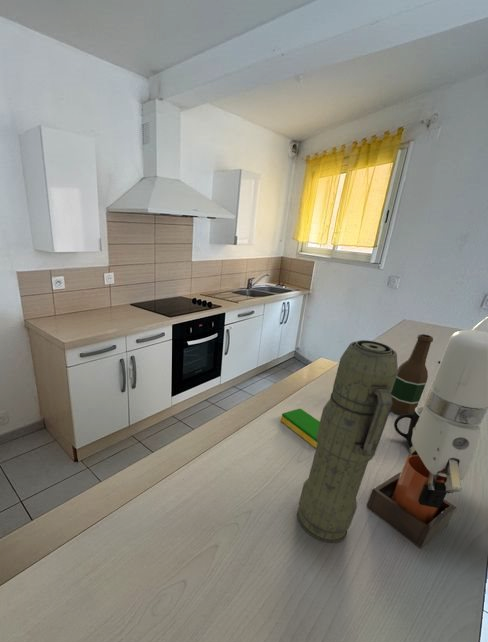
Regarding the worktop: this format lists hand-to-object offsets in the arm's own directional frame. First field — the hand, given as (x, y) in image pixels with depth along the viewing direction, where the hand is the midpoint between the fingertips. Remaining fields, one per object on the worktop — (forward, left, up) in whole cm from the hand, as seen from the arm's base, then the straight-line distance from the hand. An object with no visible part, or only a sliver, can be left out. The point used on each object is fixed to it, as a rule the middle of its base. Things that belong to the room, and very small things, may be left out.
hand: (420, 488), depth 59 cm
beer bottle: (+22, -39, -7) cm, 45 cm away
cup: (0, 0, -5) cm, 5 cm away
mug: (+10, -24, -7) cm, 27 cm away
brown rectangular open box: (0, 0, -7) cm, 7 cm away
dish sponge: (+27, -4, -7) cm, 28 cm away
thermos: (+7, +16, -7) cm, 19 cm away
